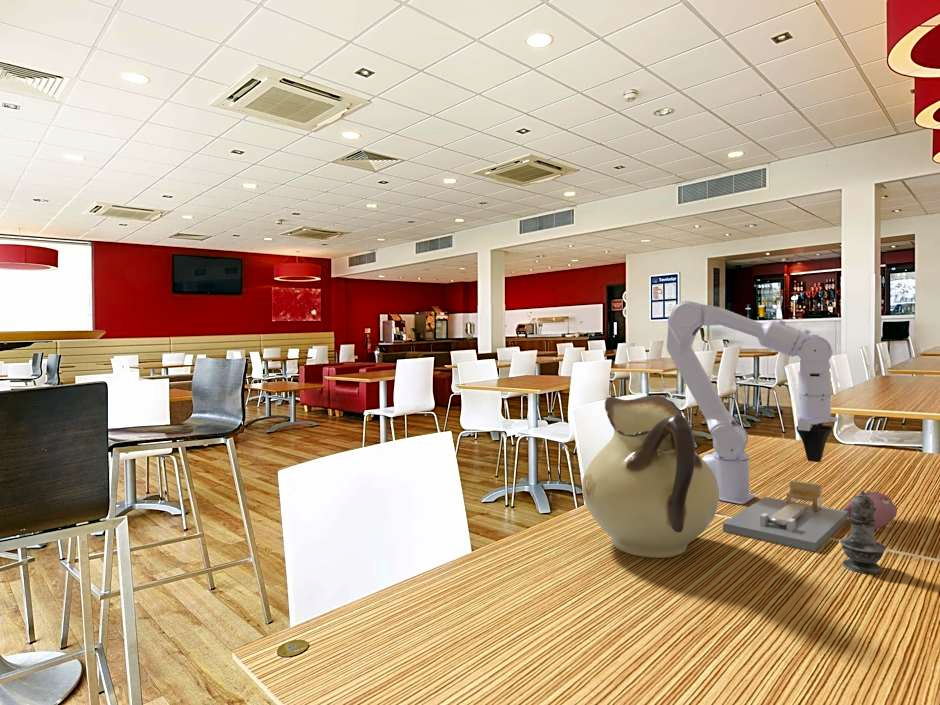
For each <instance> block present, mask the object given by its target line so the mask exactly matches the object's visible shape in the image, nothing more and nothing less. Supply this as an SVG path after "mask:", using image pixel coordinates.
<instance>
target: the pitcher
mask: <svg viewBox="0 0 940 705" xmlns="http://www.w3.org/2000/svg"><path fill="white" fill-rule="evenodd" d="M604 409H605V412H606V415H607V418H608V421H609V423H610V425H611V427H612V428H613V436H612V437H611V439H610V441H608V443H607V444H606V445H605V446H603V448H601V450H599V452H597V453H596V455H595V456H594V458H593V459H592V460H591V461H590V463H589V464H588V466H587V468H586V470H585V472H584V474H583V476H582V477H583V478H582V483H581V484H582V485H581V492H582V497H583V501H584V503H585V504H584V505H585V506H586V508H587V511H588V512H589V514H590V515H591V517H592V518H593V520H594V521H595V522H596V524H597V525H599V527H600V528H601V529H602V530H603V532H605V533H606V534H607V535H608V536H609V537H610V540H611V544H612V545H613V546H614V548H616V549H617V550H619V551H620V552H623V553H625V554H627V555H631V556H635V557H641V558H650V559H666V558H667V559H668V558H674V557H676V556H679V555H682V554H684V553H685V552H686V551H687V548H688V545H689V543H692V541H695V539H697V538H699V536H701V534H703V533H704V531H705V530H707V528H708V527H709V526H710V524H711V523H712V522H713V521H714V518H715V516H716V515H717V511H718V507H719V504H720V503H719V502H720V500H719V488H718V484H717V481H716V478H715V476H714V474H713V472H712V471H711V469H710V468H709V466H708V465H707V464H706V462H705V461H704V460H703V459H702V458H703V457H701V456H700V455H699V454H698V452H696V445H695V437H694V434H693V430H692V428H691V424H690V422H689V421H688V419H687V418H686V417H685V416H683V415H682V411H681V409H680V407H678V406H677V405H676V404H675V403H674V401H671V400H669V399H667V398H666V397H664V396H661V395H650V396H649V395H647V396H646V395H644V396H641V397H638V398H634V399H621V398H618V397H616V396H615V397H614V396H608V397H606V399H605V400H604Z"/></svg>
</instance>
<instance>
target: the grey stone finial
mask: <svg viewBox="0 0 940 705" xmlns="http://www.w3.org/2000/svg"><path fill="white" fill-rule="evenodd" d="M865 493H866V491H865V490H864V489H862V490H861V491H860V493H859V495H856V496H854V497H852V499H851V502H852V516H848V520H849V521H850V532H849V535H848V537H843V538H841V539H840V540H839V542H840V544H841V545H842V548H841V549H842V551H843V552H844V555H846V557H848V558H847V559H845V560H842V562H841V564H842V566H843V567H844V568H845V569H847V570H849V571H852V572H856V573H860V574H863V575H864V574H865V575H878V574H882V573H883V572H884V568H883V567H882V566H881V565H879V564H878V563H877V562H879V561H880V560H881V559H882V558H883V555H884V552H885V551H886V546H885V545H884V544H883V543H880V542H878V541H877V540H876V536H875V530H874V524H875V523H877V521H876V520H874V503H873V501H872V499H870V498H869V497H867V496H866V495H864V494H865Z"/></svg>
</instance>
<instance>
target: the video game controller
mask: <svg viewBox="0 0 940 705" xmlns="http://www.w3.org/2000/svg"><path fill="white" fill-rule="evenodd" d="M864 495H866V496H867V497H869V498H870V499H872V501H873V503H874V520H876V521H877V523H875V524H874V531H877V530H879V529H881V528H883V527H884V526H886V525H887V524H888V523H889V522H891V521H893V520H894V519H895V518H896V517H897V514H898V507H897V505H895V504H894V503H893V500H892V499H891V498H890V497H889V496H887V495H886V494H883V493H881V492H879V491H878V492H877V491H870V490H866V491H865V494H864ZM843 511H848V517H851V516H852V501H849V503H847V504H846V505H845V506H844V507H843Z"/></svg>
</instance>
